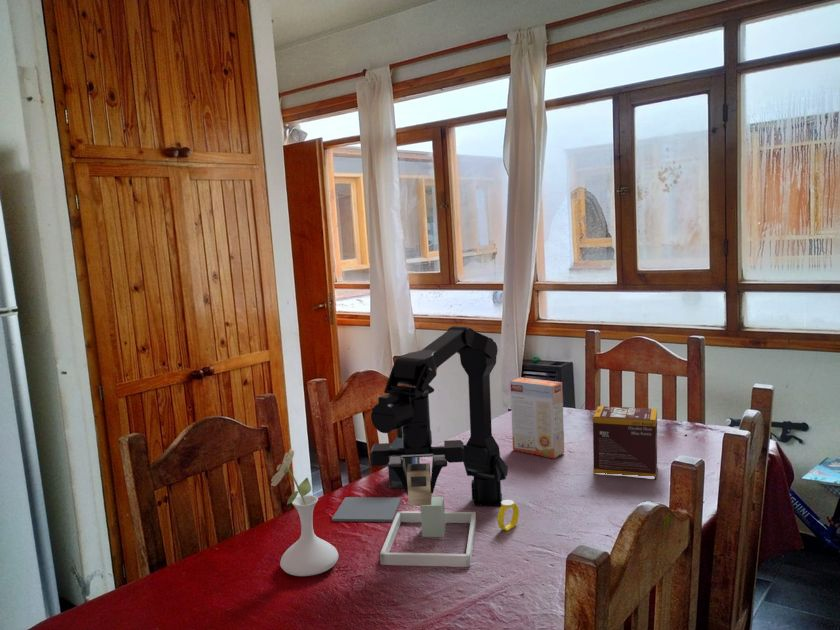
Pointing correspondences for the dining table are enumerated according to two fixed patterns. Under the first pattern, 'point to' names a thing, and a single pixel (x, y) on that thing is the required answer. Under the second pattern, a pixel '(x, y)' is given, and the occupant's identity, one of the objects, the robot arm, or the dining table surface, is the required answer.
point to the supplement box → (625, 441)
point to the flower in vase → (304, 532)
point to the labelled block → (419, 484)
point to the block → (433, 518)
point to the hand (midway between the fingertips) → (420, 493)
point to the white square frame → (428, 558)
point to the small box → (393, 478)
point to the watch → (504, 506)
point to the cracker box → (537, 416)
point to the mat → (367, 509)
